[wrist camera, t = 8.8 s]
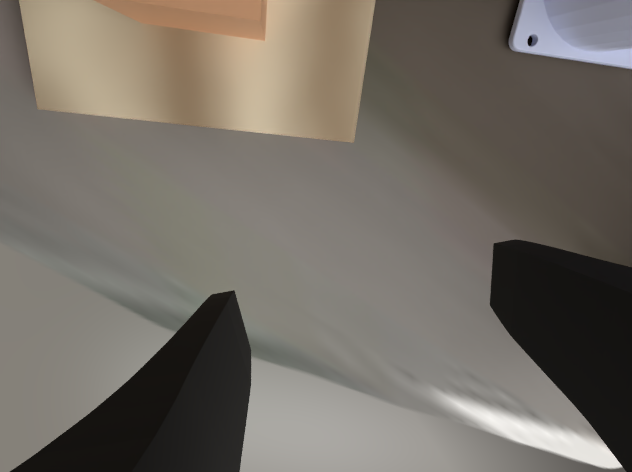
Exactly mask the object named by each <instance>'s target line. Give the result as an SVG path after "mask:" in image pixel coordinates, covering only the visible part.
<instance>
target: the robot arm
mask: <svg viewBox="0 0 632 472" xmlns="http://www.w3.org/2000/svg"><path fill="white" fill-rule="evenodd" d="M529 36H531V37H532V44H531V45H530V46H528V43H527V41H528V38H529ZM509 47H510V48H511V50H513V51H516V52H522V53H529V54H535V55H542V56H549V57H555V58H562V59H568V60H575V61H581V62H588V63H594V64H601V65H607V66H614V67H620V68H627V69H632V0H520V2H519V5H518V9H517V12H516V16H515V19H514V23H513V26H512V30H511V33H510V37H509ZM490 306H491V308H492V309H493V311H494V312H495V314H496V315H497V317H498V318H499V320H500V321H501V323H502V324H503V326H504V327H505V328H506V330H507V331H508V332H509V334H510V335H511V336H512V337H513V339H514V340H515V341H516V342H517V343H518V344H519V345H520V346H521V348H522V349H523V350H524V351H525V352H526V353H527V354H528V355H529V356H530V358H531V359H532V360H533V361H534V362H535V363H536V364H537V365H538V366H539V367H540V368H541V370H542V371H543V372H544V373H545V374H546V375H547V376H548V377H549V378H550V379H551V380H552V381H553V383H554V384H555V385H556V386H557V387H558V388H559V389H560V390H561V391H562V392H563V393H564V394H565V396H566V397H567V398H568V399H569V400H570V401H571V402H572V403H573V404H574V405H575V407H576V408H577V409H578V410H579V411H580V412H581V414H582V415H583V416H584V417H585V418H586V419H587V421H588V422H589V423H590V424H591V426H592V427H593V428H594V430H595V431H596V432H597V434H598V435H599V436H600V437H601V439H602V440H603V441H604V443H605V444H606V445H607V447H608V448H609V449H610V451H611V452H612V453H613V454H614V456H615V457H616V458H617V460H618V461H619V462H620V464H621V465H622V466H623V468H624V469H625V470H626V472H632V268H631V267H627V266H623V265H619V264H615V263H611V262H607V261H603V260H599V259H596V258H592V257H588V256H584V255H580V254H577V253H573V252H569V251H565V250H561V249H557V248H554V247H550V246H546V245H541V244H537V243H532V242H528V241H522V240H510V241H505V242H499V243H494V248H493V264H492V280H491V296H490ZM250 387H251V348H250V345H249V341H248V337H247V334H246V330H245V327H244V323H243V320H242V316H241V312H240V309H239V305H238V302H237V298H236V295H235V291H228V292H223V293H217V294H212V295H211V296H210V297H209V298H208V299H207V300H206V301H205V302H204V303H203V304H202V305H201V306H200V307H199V308H198V309H197V311H196V312H195V313H194V314H193V315H192V316H191V317H190V318H189V319H188V321H187V322H186V323H185V324H184V325H183V326H182V327H181V328H180V329H179V330H178V331H177V332H176V334H175V335H174V336H173V337H172V338H171V339H170V340H169V341H168V342H167V343H166V344H165V345H164V346H163V347H162V348H161V349H160V350H159V351H158V352H157V353H156V354H155V355H154V356H153V357H152V358H151V359H150V360H149V361H148V362H147V363H146V364H145V365H144V366H143V367H142V368H141V369H140V370H139V371H138V372H137V373H136V374H135V375H134V376H133V377H131V379H130V380H128V381H127V382H126V383H125V384H124V385H123V386H122V387H120V388H119V389H118V390H117V391H116V392H115V393H113V394H112V395H111V396H110V397H109V398H107V399H106V400H105V401H104V402H103V403H101V404H100V405H99V406H98V407H97V408H96V409H94V410H93V411H92V412H91V413H90V414H88V415H87V416H86V417H84V418H83V419H82V420H80V421H79V422H78V423H76V424H75V425H74V426H72V427H71V428H70V429H68V430H67V431H66V432H64V433H63V434H62V435H60V436H59V437H58V438H56V439H55V440H54V441H52V442H51V443H50V444H48V445H47V446H46V447H44V448H43V449H42V450H40V451H39V452H38V453H36V454H35V455H34V456H32V457H31V458H29V459H28V460H26V461H25V462H24V463H22V464H21V465H19V466H18V467H16V468H15V469H13V470H12V471H10V472H239V470H240V463H241V456H242V448H243V441H244V433H245V426H246V418H247V411H248V403H249V396H250Z"/></svg>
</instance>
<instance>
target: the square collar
mask: <svg viewBox="0 0 632 472" xmlns="http://www.w3.org/2000/svg"><path fill="white" fill-rule="evenodd" d="M94 1H96V2H98V3H100V4H102V5H104V6H107V7H109V8H111V9H113V10H115V11H117V12H119V13H121V14H123V15H125V16H128V17H130V18H132V19H134V20H136V21H138V22H140V23H144V24H151V25H158V26H165V27H172V28H179V29H186V30H192V31H199V32H206V33H213V34H220V35H227V36H234V37H241V38H248V39H255V40H262V41H265V33H266V15H267V0H94Z"/></svg>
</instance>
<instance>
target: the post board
mask: <svg viewBox="0 0 632 472" xmlns="http://www.w3.org/2000/svg"><path fill="white" fill-rule="evenodd" d="M19 3H20V9H21V15H22V21H23V26H24V32H25V38H26V44H27V50H28V56H29V62H30V67H31V73H32V79H33V85H34V91H35V97H36V102H37V108H38V109H41V110H51V111H60V112H70V113H79V114H88V115H98V116H107V117H117V118H126V119H135V120H145V121H154V122H164V123H173V124H183V125H192V126H201V127H211V128H220V129H230V130H239V131H248V132H258V133H267V134H277V135H286V136H295V137H305V138H314V139H324V140H333V141H343V142H352V143H354V137H355V131H356V124H357V118H358V111H359V105H360V98H361V91H362V85H363V78H364V72H365V65H366V59H367V52H368V45H369V39H370V32H371V26H372V19H373V13H374V6H375V0H267V15H266V33H265V41H262V40H255V39H248V38H241V37H234V36H227V35H220V34H213V33H206V32H199V31H192V30H186V29H179V28H172V27H165V26H158V25H151V24H144V23H140V22H138V21H136V20H134V19H132V18H130V17H128V16H125V15H123V14H121V13H119V12H117V11H115V10H113V9H111V8H109V7H107V6H104V5H102V4H100V3H98V2H96V1H94V0H19Z"/></svg>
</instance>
